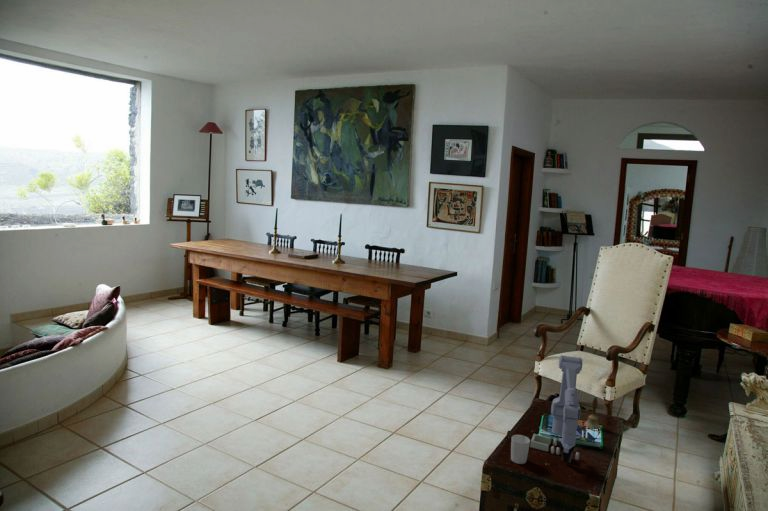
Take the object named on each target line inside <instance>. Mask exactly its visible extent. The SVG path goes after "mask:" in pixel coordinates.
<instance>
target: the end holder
mask: <svg viewBox="0 0 768 511" xmlns="http://www.w3.org/2000/svg"><path fill="white" fill-rule="evenodd" d="M551 442H552V437H549V436H545V435H541V434H538V433H537V434H536V433H533V435H532V438H531V439H530V444H529V448H532V449H537V450H539V451H544V452H549V446H550V445H551Z"/></svg>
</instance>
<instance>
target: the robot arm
mask: <svg viewBox="0 0 768 511" xmlns="http://www.w3.org/2000/svg"><path fill="white" fill-rule="evenodd" d="M558 368H559V369H561V372H562V373H561V374H562V376H561V380H560V381H561V382H560V389H559V396H558V397H555V398H554V399H553V400H552V403H551V407H550V414H551V416H552V417H553V419H552V426H551V427H552V428H551V430H552V432H553V433H555V434H557V435H561V436H562V438H560V437H558V439H557V442H560V447H559V448H560V451H561V455H562V454H563V462H566V463H569V462H568V461H569V458H570V455H571V453H572V454H573V452H574V451H575V448H576V447H575V446H576V438H577V432H578V431H577V430H578V423H579V421H580V418H581V407H580V403H579V391H578V390H577V379H578V377H577V375H579V374H581V371H582V369H583V358H582V357H576V356H570V355H569V356H567V355H563V354H561V355H560V356H559V359H558Z"/></svg>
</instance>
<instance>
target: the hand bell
mask: <svg viewBox="0 0 768 511" xmlns="http://www.w3.org/2000/svg"><path fill="white" fill-rule="evenodd" d="M598 403H599V402H598V398H597V397H593V399H592V402H591V407H592V409H591V410H592V411H591V415H588V416H587V417H588V418H587V421H585V422H583V424H584V425H583V427H584V426H586V427H588V428H590V429H598V428H601V426H600V424H599V418H598V416H597V415H596V411H597V408H598ZM590 429H589V430H590Z"/></svg>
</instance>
